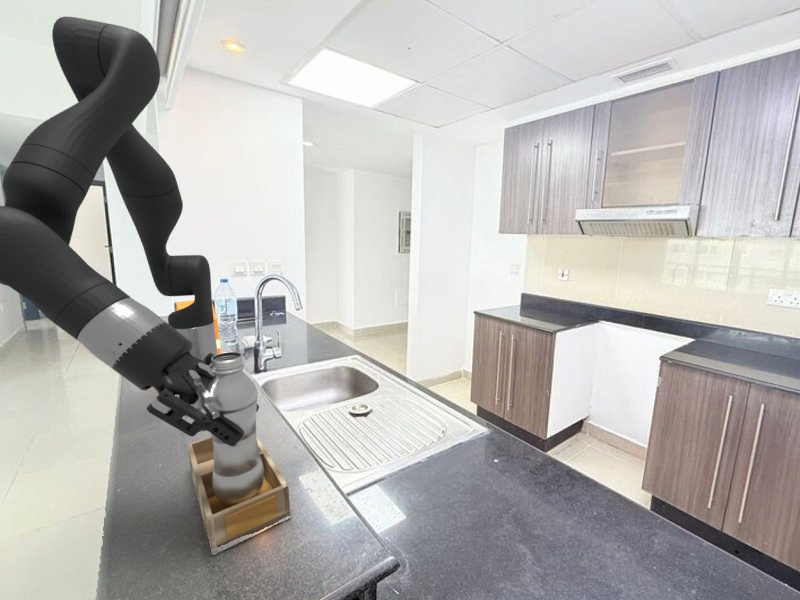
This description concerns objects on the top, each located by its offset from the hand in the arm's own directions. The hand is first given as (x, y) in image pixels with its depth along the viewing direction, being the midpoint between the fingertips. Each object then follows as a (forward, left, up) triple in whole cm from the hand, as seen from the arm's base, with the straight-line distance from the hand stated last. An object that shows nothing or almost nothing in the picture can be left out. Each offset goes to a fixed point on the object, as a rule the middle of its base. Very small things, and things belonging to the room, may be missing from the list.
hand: (247, 425), depth 47 cm
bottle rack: (-5, -1, -13) cm, 14 cm away
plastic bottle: (-1, -1, -10) cm, 11 cm away
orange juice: (-65, +3, -13) cm, 67 cm away
